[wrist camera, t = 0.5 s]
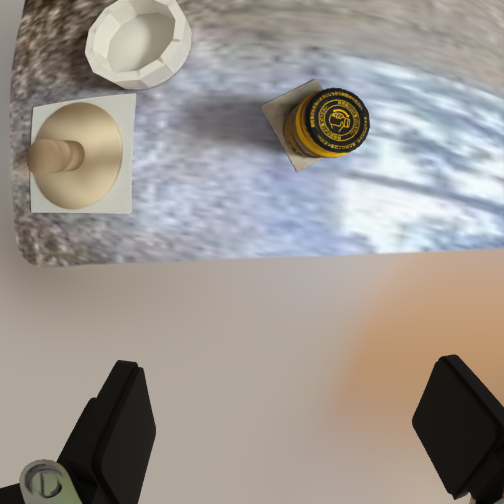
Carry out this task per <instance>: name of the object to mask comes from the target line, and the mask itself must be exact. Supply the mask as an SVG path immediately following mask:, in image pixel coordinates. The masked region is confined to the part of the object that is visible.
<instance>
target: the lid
mask: <svg viewBox="0 0 504 504" xmlns="http://www.w3.org/2000/svg"><path fill="white" fill-rule="evenodd" d="M122 155H123V145H122V138H121V134H120V131H119V129H118V126H117V124H116V122H115V121H114V119H113V118H112V117H111V115H110V114H109V113H107V112H106V111H105V110H104V109H102V108H101V107H99V106H96V105H94V104H90V103H85V102H76V103H71V104H68V105H65V106H63V107H61V108H60V109H58V110H57V111H55V112H54V113H53V114H52V115H51V116H50V117H49V118H48V119H47V120H46V121H45V123H44V124H43V126H42V127H41V129H40V131H39V133H38V135H37V138H36V141H35V142H34V143H33V144H32V145H31V146H30V148H29V150H28V153H27V165H28V168H29V170H30V171H31V172H32V173H33V174H34V176H35V180H36V182H37V185H38V187H39V189H40V190H41V192H42V193H43V195H44V196H45V197H46V198H47V199H48V200H49V201H50V202H51V203H53V204H54V205H56V206H58V207H61V208H64V209H70V210H76V209H82V208H85V207H88V206H90V205H93V204H94V203H96V202H98V201H99V200H100V199H102V198H103V197H104V196H105V195H106V194H107V193H108V192H109V190H110V189H111V188H112V186H113V184H114V183H115V181H116V179H117V176H118V174H119V171H120V168H121V163H122Z"/></svg>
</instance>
